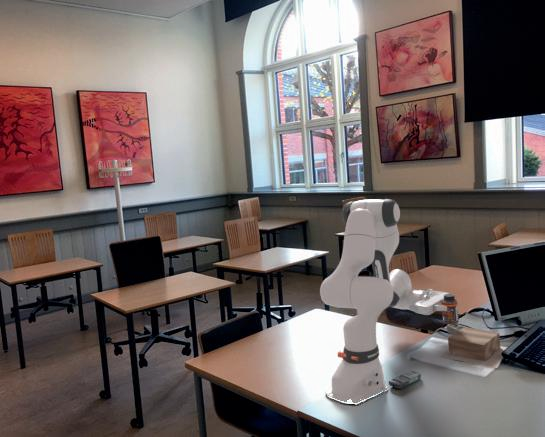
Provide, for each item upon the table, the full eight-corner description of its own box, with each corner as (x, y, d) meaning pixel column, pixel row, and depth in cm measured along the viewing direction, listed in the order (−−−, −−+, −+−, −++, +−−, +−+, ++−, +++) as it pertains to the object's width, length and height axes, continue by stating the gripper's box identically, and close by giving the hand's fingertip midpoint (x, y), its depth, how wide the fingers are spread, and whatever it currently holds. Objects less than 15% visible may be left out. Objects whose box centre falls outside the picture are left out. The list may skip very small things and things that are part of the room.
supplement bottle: (442, 324, 194) (439, 296, 193) (444, 319, 200) (442, 292, 198) (458, 325, 192) (455, 297, 190) (459, 320, 197) (457, 292, 196)
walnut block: (485, 360, 180) (483, 345, 180) (449, 352, 191) (447, 338, 190) (500, 347, 190) (499, 332, 189) (465, 341, 200) (464, 326, 199)
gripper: (406, 300, 197) (438, 305, 187) (431, 287, 211) (462, 291, 201) (407, 315, 197) (439, 321, 187) (432, 302, 211) (463, 306, 201)
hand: (451, 305), depth 194 cm, fingers closed on supplement bottle, 6 cm apart
